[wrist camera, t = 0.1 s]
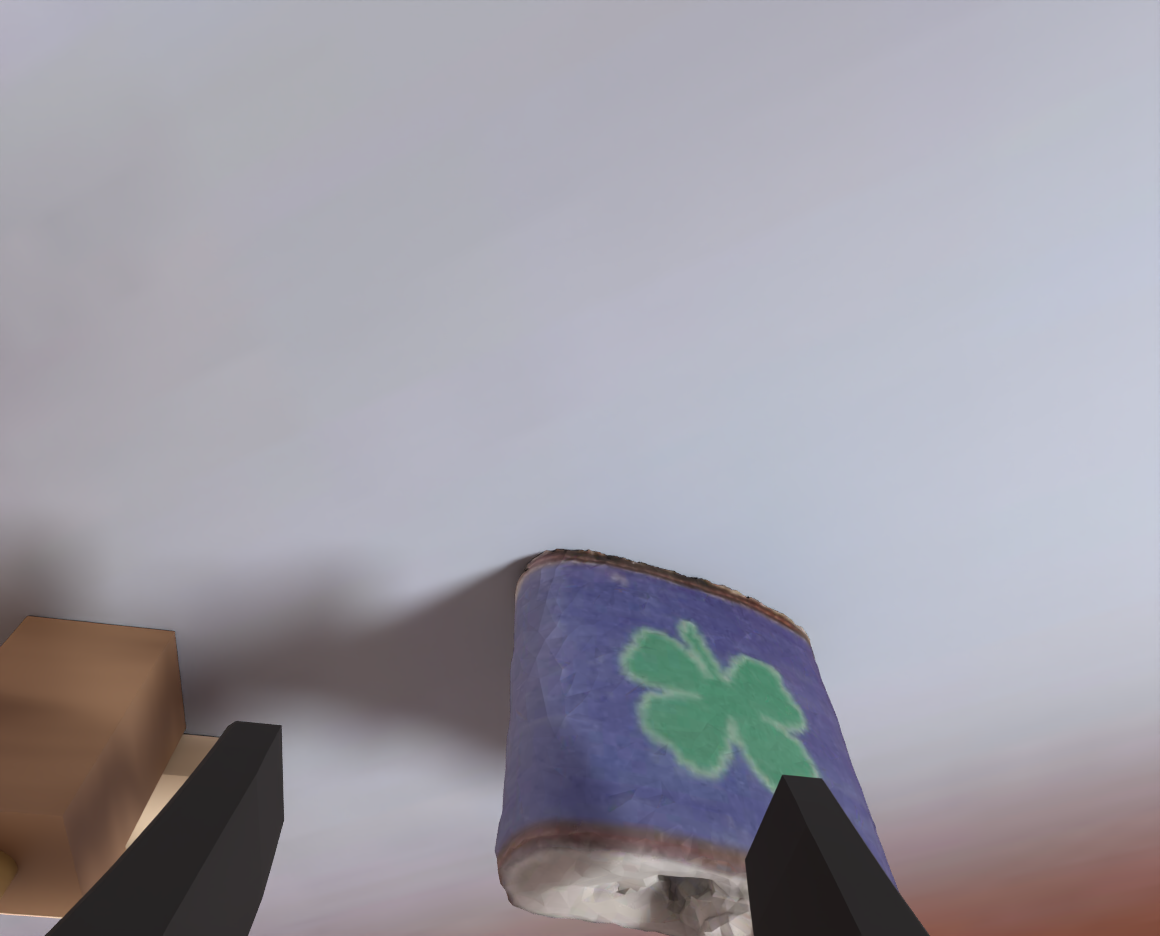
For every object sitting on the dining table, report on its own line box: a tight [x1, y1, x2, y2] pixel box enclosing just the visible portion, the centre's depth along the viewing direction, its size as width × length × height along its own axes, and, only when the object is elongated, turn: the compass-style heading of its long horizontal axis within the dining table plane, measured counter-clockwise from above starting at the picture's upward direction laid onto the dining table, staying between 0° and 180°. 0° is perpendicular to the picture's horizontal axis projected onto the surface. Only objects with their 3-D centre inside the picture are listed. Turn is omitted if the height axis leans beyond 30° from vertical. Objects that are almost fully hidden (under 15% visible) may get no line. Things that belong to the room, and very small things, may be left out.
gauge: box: [0, 616, 186, 917], centre depth 23 cm, size 11×4×7 cm, turn 171°
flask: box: [495, 549, 899, 936], centre depth 18 cm, size 9×3×11 cm, turn 66°
